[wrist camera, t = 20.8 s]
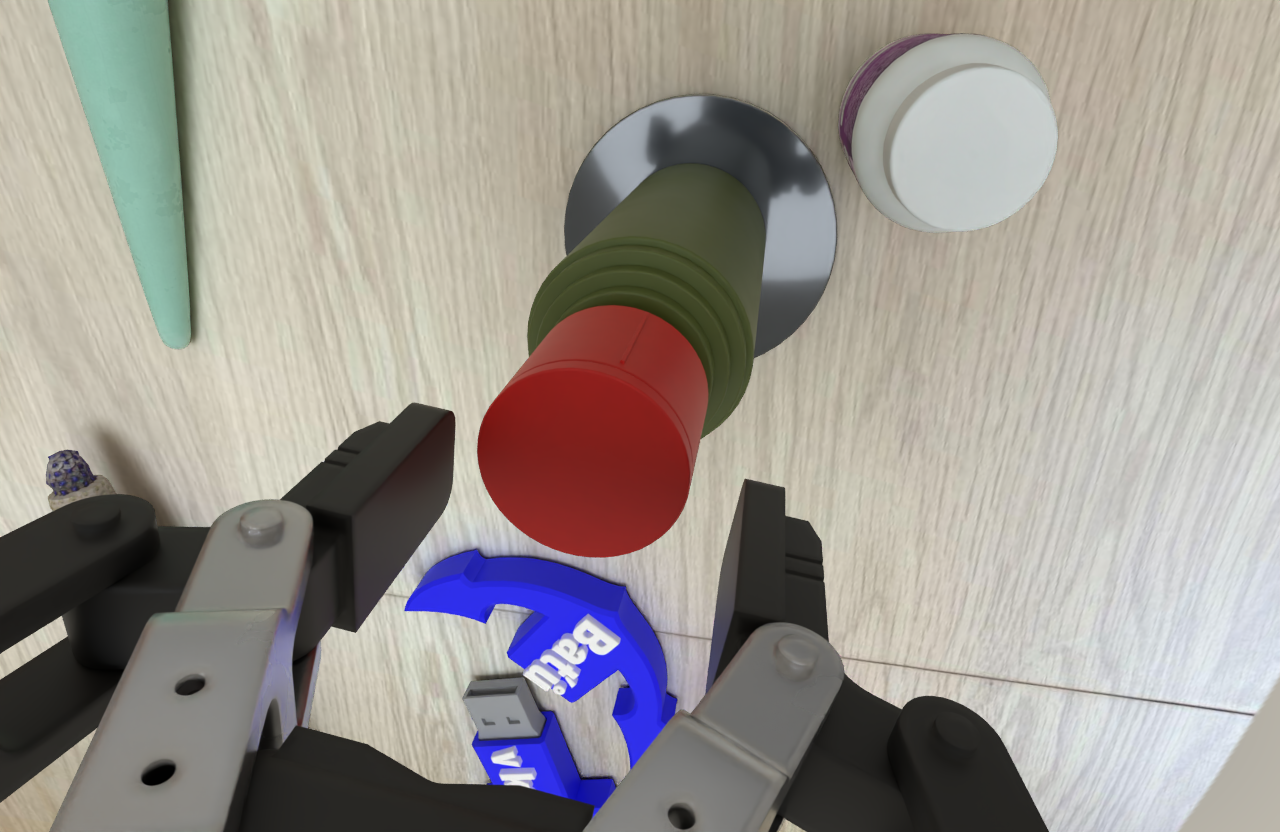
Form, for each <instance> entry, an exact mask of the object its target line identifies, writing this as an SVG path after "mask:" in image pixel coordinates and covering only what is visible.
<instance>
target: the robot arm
mask: <svg viewBox="0 0 1280 832" xmlns="http://www.w3.org/2000/svg"><path fill="white" fill-rule="evenodd" d="M454 444H455V416H454V413H453V412H452V411H449V410H445V409H441V408H436V407H432V406H427V405H423V404H419V403H411V404H410V405H409V406H408V407H407V408H406V409H404V410H403V411H402V412H401V413H400V414H399V415H398V416H397V417H396V418H395V419H394V420H393V421H392V422H391V423H390V424H389V423H385V422H380V421H379V422H377V423H374V424H372V425H370V426H367V427H365V428H363V429H360V430H358V431H356V432H354V433H353V434H352V435H351V436H350V437H348V438H347V439H346V440H345V441H344V442H343V443H342V444H341V445H340V446H339V447H338V450H334V451H333V452H332V453H331V454H330V455H329V456H328V457H326V458H325V461H324V462H321V463H320V464H319V465H318V466H317V467H315V468H314V469H313V470H312V471H311V472H310V473H309V474H308V475H307V476H305V477H304V478H303V479H302V480H301V481H300V482H299V483H298V484H297V485H296V486H294V487H293V488H292V489H291V490H290V491H289V492H288V493H287V494H286V495H285V496H283V497H282V498H281V499H280V500H272V499H271V500H259V501H253V502H248V503H245V504H242V505H239V506H236V507H234V508H232V509H230V510H228V511H226V512H225V513H223V514H222V515H221V516H219V517H218V518H217V519H216V520H215V521H214V523H213V524H212V526H211V527H158V526H157V521H156V516H155V510H154V508H153V506H152V505H151V504H150V503H149V502H147V501H146V500H144V499H142V498H139V497H136V496H130V495H122V494H110V495H100V496H94V497H89V498H85V499H81V500H78V501H75V502H72V503H70V504H67V505H65V506H63V507H61V508H59V509H57V510H55V511H53V512H51V513H49V514H47V515H45V516H43V517H41V518H39V519H36V520H34V521H32V522H30V523H28V524H26V525H24V526H22V527H20V528H18V529H16V530H14V531H12V532H10V533H8V534H6V535H4V536H2V537H0V654H1V653H2V652H3V651H5V650H7V649H8V648H10V647H11V646H13V645H15V644H16V643H18V642H20V641H21V640H23V639H24V638H26V637H28V636H29V635H31V634H33V633H34V632H36V631H37V630H39V629H41V628H42V627H44V626H46V625H47V624H49V623H50V622H52V621H54V620H55V619H57V618H59V617H60V616H62V617H63V621H64V624H65V628H66V631H67V635H68V637H66V638H65V639H63V640H61V641H60V642H58V643H57V644H55V645H54V646H52V647H51V648H49V649H47V650H46V651H44V652H43V653H41V654H40V655H38V656H37V657H35V658H33V659H32V660H30V661H29V662H27V663H26V664H24V665H23V666H21V667H19V668H18V669H16V670H15V671H13V672H12V673H10V674H9V675H7V676H5V677H4V678H2V679H1V680H0V803H1V802H2V801H3V800H4V799H6V798H7V797H8V796H10V795H11V794H12V793H13V792H15V791H16V790H17V789H19V788H20V787H21V786H22V785H24V784H25V783H26V782H28V781H29V780H30V779H32V778H33V777H34V776H35V775H37V774H38V773H39V772H41V771H42V770H43V769H44V768H46V767H47V766H48V765H50V764H51V763H52V762H54V761H55V760H56V759H57V758H59V757H60V756H61V755H63V754H64V753H65V752H66V751H68V750H69V749H70V748H72V747H73V746H74V745H75V744H77V743H78V742H79V741H81V740H82V739H83V738H85V737H86V736H87V735H88V734H90V733H91V732H92V731H94V730H95V729H96V728H97V727H98V728H97V730H96V732H95V734H94V737H93V739H92V741H91V743H90V745H89V747H88V749H87V752H86V754H85V756H84V758H83V760H82V762H81V764H80V767H79V769H78V771H77V773H76V775H75V777H74V779H73V782H72V784H71V786H70V788H69V790H68V792H67V794H66V797H65V799H64V801H63V803H62V805H61V807H60V809H59V812H58V814H57V816H56V818H55V820H54V822H53V824H52V827H51V829H50V831H49V832H779V831H780V829H781V827H782V825H783V823H784V821H785V819H786V820H788V821H790V822H791V823H793V824H795V825H796V826H798V827H800V828H801V829H803V830H805V831H806V832H1049V831H1048V829H1047V827H1046V825H1045V823H1044V821H1043V819H1042V817H1041V815H1040V813H1039V812H1038V810H1037V808H1036V806H1035V804H1034V802H1033V800H1032V798H1031V796H1030V794H1029V792H1028V790H1027V788H1026V786H1025V784H1024V782H1023V780H1022V778H1021V776H1020V775H1019V773H1018V771H1017V769H1016V767H1015V765H1014V763H1013V761H1012V759H1011V757H1010V755H1009V753H1008V751H1007V749H1006V747H1005V745H1004V744H1003V742H1002V740H1001V739H1000V737H999V735H998V734H997V733H996V732H995V730H994V729H993V728H992V727H991V726H990V725H989V724H988V723H987V722H986V721H985V720H984V719H983V718H981V717H980V716H979V715H978V714H976V713H975V712H973V711H972V710H970V709H969V708H967V707H965V706H963V705H961V704H959V703H957V702H955V701H952V700H949V699H946V698H942V697H936V696H922V697H917V698H914V699H912V700H911V701H909V702H907V704H906V705H905V706H904V707H903V709H900V708H898V707H896V706H894V705H892V704H890V703H888V702H886V701H884V700H882V699H880V698H878V697H876V696H874V695H873V694H871V693H869V692H867V691H866V690H864V689H862V688H861V687H860V686H858V685H857V684H855V683H854V682H853V681H852V680H851V679H850V678H848V677H847V675H846V674H845V673H844V666H843V663H842V660H841V658H840V656H839V654H838V653H837V651H836V650H835V649H834V647H833V646H832V645H831V644H830V643H829V639H828V625H827V612H826V598H825V584H824V582H823V580H824V570H823V565H822V563H823V557H822V543H821V540H820V538H819V537H818V535H817V534H816V532H815V531H814V529H813V528H812V526H811V524H810V523H809V521H805V520H801V519H796V518H792V517H788V516H785V488H784V487H779V486H775V485H771V484H766V483H762V482H757V481H753V480H749V479H745V480H744V482H743V486H742V489H741V493H740V496H739V500H738V504H737V508H736V511H735V515H734V519H733V522H732V526H731V530H730V534H729V537H728V541H727V545H726V549H725V553H724V557H723V562H722V567H721V572H720V579H719V586H718V595H717V603H716V611H715V619H714V627H713V636H712V644H711V652H710V660H709V668H708V677H707V685H706V693H705V696H704V697H703V699H702V700H701V701H700V703H699V704H698V705H697V707H696V708H695V709H694V710H693V712H692V713H691V714H690V713H688V712H687V711H685V710H680V711H678V712H677V713H676V714H675V715H674V716H673V717H672V718H671V719H670V720H669V722H668V723H667V724H666V725H665V727H664V728H663V729H662V731H661V732H660V733H659V734H658V736H657V737H656V738H655V739H654V741H653V742H652V743H651V745H650V746H649V747H648V748H647V750H646V751H645V752H644V753H643V755H642V756H641V757H640V759H639V760H638V761H637V762H636V764H635V765H634V766H633V767H632V769H631V770H630V771H629V773H628V774H627V775H626V776H625V778H624V779H623V780H622V781H621V783H620V784H619V785H618V787H617V788H616V789H615V790H614V792H613V793H612V794H611V795H610V797H609V798H608V799H607V801H606V802H605V803H604V804H603V806H602V807H601V808H600V809H599V811H598V812H597V813H596V815H595V816H594V817H593V812H594V807H595V805H591V804H587V803H584V802H580V801H576V800H572V799H569V798H565V797H561V796H558V795H554V794H550V793H546V792H543V791H539V790H535V789H532V788H528V787H524V786H520V785H481V784H441V783H435V782H431V781H429V780H427V779H425V778H424V777H422V776H420V775H419V774H417V773H415V772H413V771H412V770H410V769H408V768H407V767H405V766H403V765H402V764H400V763H398V762H397V761H395V760H393V759H391V758H390V757H388V756H386V755H385V754H383V753H381V752H380V751H378V750H376V749H374V748H373V747H371V746H369V745H368V744H364V743H360V742H357V741H353V740H349V739H345V738H342V737H338V736H334V735H331V734H327V733H323V732H319V731H316V730H312V729H308V724H309V718H310V713H311V707H312V702H313V697H314V691H315V686H316V680H317V675H318V670H319V664H320V659H321V639H322V638H323V636H324V635H325V634H326V633H327V631H328V630H329V629H330V627H331V626H332V627H336V628H339V629H343V630H347V631H351V632H355V633H356V632H357V630H358V629H359V628H360V626H361V625H362V623H363V622H364V621H365V619H366V618H367V617H368V615H369V614H370V612H371V611H372V610H373V608H374V607H375V606H376V604H377V603H378V601H379V600H380V599H381V597H382V596H383V595H384V593H385V592H386V590H387V589H388V588H389V586H390V585H391V584H392V582H393V581H394V579H395V578H396V577H397V575H398V574H399V572H400V571H401V570H402V568H403V567H404V566H405V564H406V563H407V561H408V560H409V559H410V557H411V556H412V555H413V553H414V552H415V550H416V549H417V548H418V546H419V545H420V544H421V542H422V541H423V539H424V538H425V537H426V535H427V534H428V533H429V531H430V530H431V528H432V527H433V526H434V524H435V523H436V522H437V520H438V519H439V517H440V516H441V515H442V513H443V512H444V510H445V508H446V505H447V503H448V500H449V497H450V494H451V490H452V484H453V466H454ZM592 817H593V818H592Z"/></svg>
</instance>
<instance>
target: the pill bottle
mask: <svg viewBox="0 0 1280 832" xmlns="http://www.w3.org/2000/svg"><path fill="white" fill-rule="evenodd" d="M838 129H839V137H840V141H841V145H842V148H843V151H844V154H845V156H846V158H847V161H848V164H849V166H850V167H851V169H852V171H853V173H854V175H855V177H856V180H857V181H858V183H859V185H860V187H861V189H862V190H863V192H864V194H865V195H866V197H867V199H868V200H869V201H870V202H871V203H872V204H873V206H874V207H875V208H876V209H877V210H878V211H879V212H881V213H882V214H883V215H884V216H886V217H887V218H888V219H890V220H892V221H893V222H895V223H897V224H899V225H901V226H904V227H906V228H909V229H913V230H917V231H921V232H929V233H946V232H964V231H972V230H978V229H982V228H986V227H989V226H992V225H994V224H997V223H999V222H1001V221H1003V220H1005V219H1007V218H1008V217H1010V216H1011V215H1013V214H1014V213H1016V212H1017V211H1018V210H1020V209H1021V208H1022V207H1023V206H1024V205H1026V204H1027V203H1028V202H1029V201H1030V200H1031V199H1032V197H1033V196H1034V195H1035V194H1036V193H1037V191H1038V190H1039V189H1040V188H1041V186H1042V185H1043V183H1044V182H1045V180H1046V178H1047V176H1048V175H1049V172H1050V170H1051V167H1052V165H1053V162H1054V159H1055V155H1056V150H1057V141H1058V128H1057V121H1056V117H1055V113H1054V110H1053V108H1052V105H1051V100H1050V96H1049V93H1048V90H1047V87H1046V84H1045V82H1044V80H1043V78H1042V76H1041V75H1040V73H1039V71H1038V70H1037V68H1036V67H1035V66H1034V64H1033V63H1032V62H1031V61H1030V60H1029V59H1028V58H1027V57H1026V56H1025V55H1023V54H1022V53H1021V52H1020V51H1018V50H1017V49H1016V48H1014V47H1012V46H1010V45H1009V44H1007V43H1005V42H1002V41H1000V40H997V39H994V38H991V37H987V36H984V35H978V34H963V33H960V34H919V35H912V36H907V37H904V38H901V39H898V40H896V41H894V42H891V43H889V44H887V45H886V46H884V47H882V48H881V49H879V50H878V51H877V52H875V53H874V54H873V55H872V56H870V57H869V58H868V59H867V60H866V61H865V62H864V63H863V64H862V65H861V66H860V67H859V69H858V70H857V71H856V72H855V74H854V75H853V77H852V79H851V81H850V82H849V84H848V86H847V88H846V90H845V93H844V96H843V99H842V102H841V106H840V111H839V119H838Z"/></svg>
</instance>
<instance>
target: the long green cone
mask: <svg viewBox="0 0 1280 832" xmlns="http://www.w3.org/2000/svg"><path fill="white" fill-rule="evenodd" d="M48 3H49V6H50V9H51V12H52V15H53V18H54V21H55V24H56V27H57V30H58V33H59V36H60V39H61V42H62V45H63V48H64V51H65V54H66V57H67V60H68V63H69V66H70V69H71V73H72V76H73V79H74V82H75V85H76V88H77V91H78V94H79V97H80V100H81V103H82V106H83V109H84V112H85V115H86V118H87V121H88V124H89V127H90V130H91V133H92V136H93V139H94V142H95V145H96V148H97V151H98V154H99V157H100V160H101V163H102V167H103V170H104V173H105V176H106V179H107V182H108V185H109V188H110V191H111V194H112V197H113V200H114V203H115V206H116V209H117V212H118V215H119V218H120V221H121V224H122V227H123V230H124V233H125V236H126V239H127V242H128V245H129V248H130V251H131V254H132V257H133V260H134V263H135V266H136V269H137V272H138V275H139V278H140V281H141V284H142V287H143V290H144V293H145V296H146V299H147V302H148V305H149V308H150V310H151V313H152V316H153V319H154V322H155V324H156V327H157V330H158V333H159V336H160V337H161V339H162V341H163V342H164V344H165V345H166V346H168V347H170V348H172V349H183V348H185V347H187V346H188V345H189V342H190V338H191V322H190V300H189V284H188V270H187V255H186V241H185V226H184V212H183V197H182V184H181V170H180V157H179V144H178V131H177V117H176V104H175V91H174V78H173V64H172V51H171V38H170V25H169V11H168V0H48Z"/></svg>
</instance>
